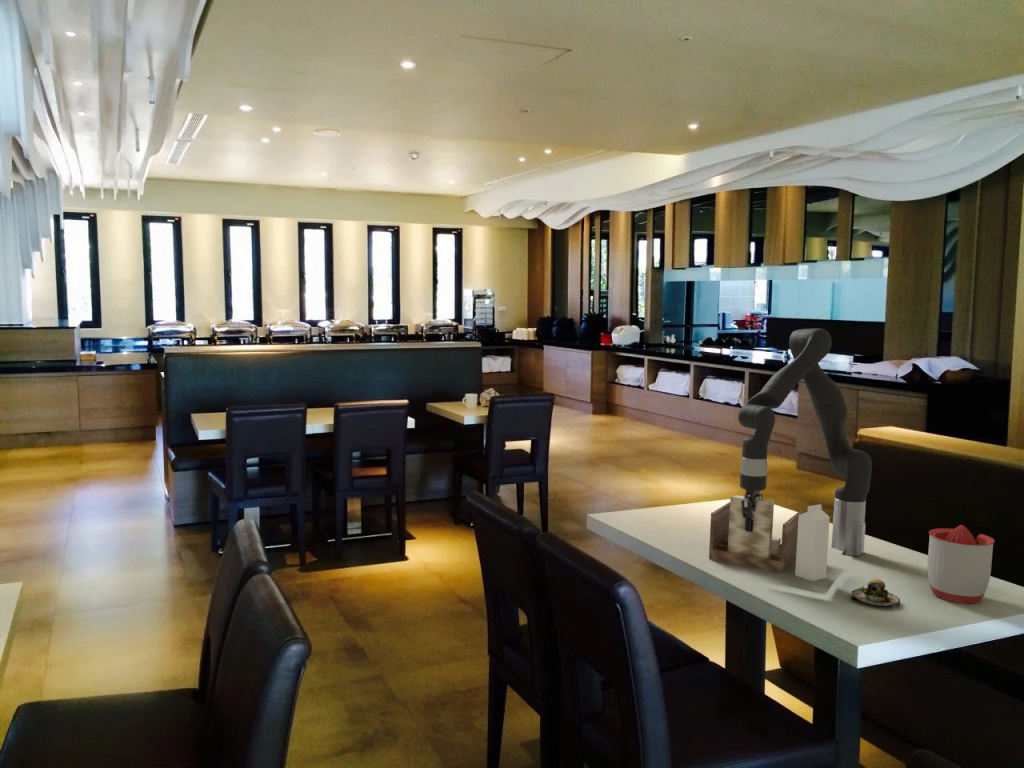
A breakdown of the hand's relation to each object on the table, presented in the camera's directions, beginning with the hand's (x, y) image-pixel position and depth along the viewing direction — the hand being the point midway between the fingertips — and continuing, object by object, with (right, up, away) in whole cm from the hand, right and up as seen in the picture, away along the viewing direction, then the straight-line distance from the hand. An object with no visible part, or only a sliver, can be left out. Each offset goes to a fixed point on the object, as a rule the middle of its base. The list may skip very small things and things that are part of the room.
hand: (750, 529), depth 241 cm
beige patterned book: (0, -9, +1) cm, 9 cm away
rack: (+3, -11, +7) cm, 13 cm away
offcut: (+7, -10, +4) cm, 12 cm away
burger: (+26, -15, -24) cm, 39 cm away
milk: (+14, -13, -10) cm, 22 cm away
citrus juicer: (+51, -15, -19) cm, 56 cm away
